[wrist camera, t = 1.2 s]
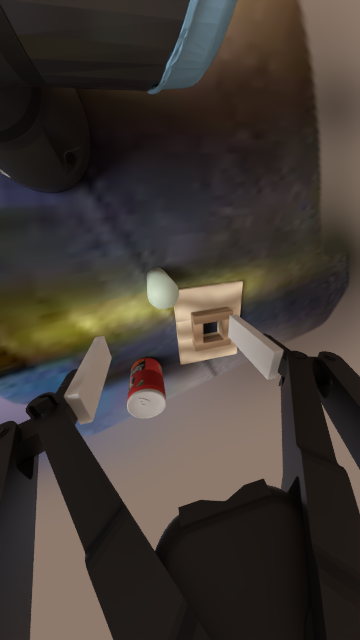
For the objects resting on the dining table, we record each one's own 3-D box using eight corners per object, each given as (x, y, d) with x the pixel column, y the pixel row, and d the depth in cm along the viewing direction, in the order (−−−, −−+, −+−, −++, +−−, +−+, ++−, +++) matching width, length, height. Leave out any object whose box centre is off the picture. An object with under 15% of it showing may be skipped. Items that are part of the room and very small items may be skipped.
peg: (145, 268, 31) (144, 280, 19) (165, 266, 32) (177, 276, 19) (148, 288, 33) (150, 311, 20) (167, 285, 33) (180, 306, 21)
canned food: (139, 352, 39) (137, 386, 29) (167, 362, 42) (173, 397, 32) (125, 374, 40) (119, 414, 31) (153, 383, 43) (155, 421, 34)
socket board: (172, 289, 34) (175, 294, 30) (239, 280, 36) (250, 284, 33) (180, 362, 42) (183, 372, 39) (234, 350, 45) (242, 359, 41)
